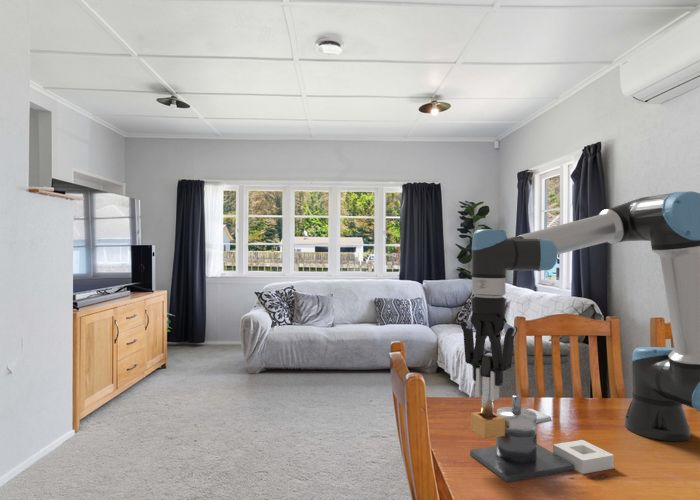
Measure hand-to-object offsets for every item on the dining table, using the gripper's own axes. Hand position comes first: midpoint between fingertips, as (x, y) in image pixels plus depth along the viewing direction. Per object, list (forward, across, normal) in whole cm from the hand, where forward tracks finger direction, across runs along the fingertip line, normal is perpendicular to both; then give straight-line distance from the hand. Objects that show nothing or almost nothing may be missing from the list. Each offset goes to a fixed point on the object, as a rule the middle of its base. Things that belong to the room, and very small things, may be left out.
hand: (487, 397), depth 108 cm
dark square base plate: (+16, +5, +7) cm, 18 cm away
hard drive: (+16, -7, +36) cm, 40 cm away
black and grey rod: (+5, 0, 0) cm, 5 cm away
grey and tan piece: (+8, +2, +4) cm, 10 cm away
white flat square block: (+16, +15, +17) cm, 28 cm away
